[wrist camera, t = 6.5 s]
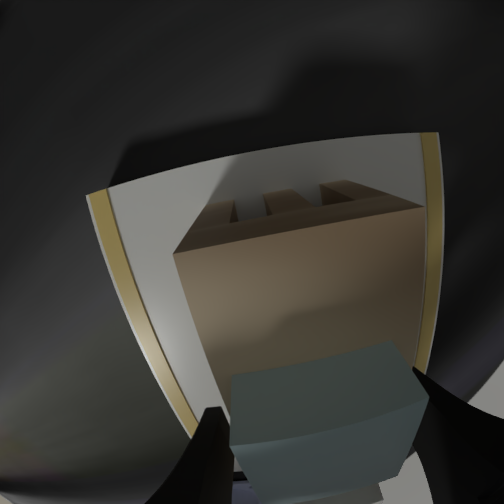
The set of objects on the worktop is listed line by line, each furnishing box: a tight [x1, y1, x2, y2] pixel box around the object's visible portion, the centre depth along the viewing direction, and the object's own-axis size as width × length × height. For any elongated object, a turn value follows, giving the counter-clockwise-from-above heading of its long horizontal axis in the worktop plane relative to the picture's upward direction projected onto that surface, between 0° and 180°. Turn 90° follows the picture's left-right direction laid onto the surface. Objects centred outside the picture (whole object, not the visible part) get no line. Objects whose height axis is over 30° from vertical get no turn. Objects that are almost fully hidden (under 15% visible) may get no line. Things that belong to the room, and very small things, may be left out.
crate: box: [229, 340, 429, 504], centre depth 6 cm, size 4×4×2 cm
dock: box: [86, 132, 444, 472], centre depth 13 cm, size 19×14×2 cm
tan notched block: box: [172, 180, 425, 416], centre depth 10 cm, size 16×5×5 cm, turn 11°
